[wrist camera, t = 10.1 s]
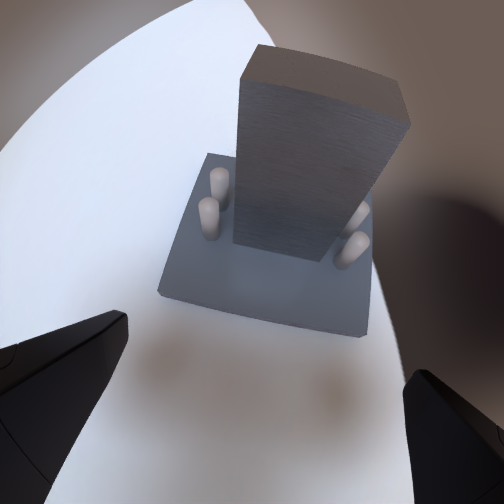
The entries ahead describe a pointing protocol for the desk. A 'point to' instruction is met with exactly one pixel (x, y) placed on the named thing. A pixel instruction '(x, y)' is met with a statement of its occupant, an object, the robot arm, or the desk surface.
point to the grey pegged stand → (266, 265)
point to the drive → (309, 148)
